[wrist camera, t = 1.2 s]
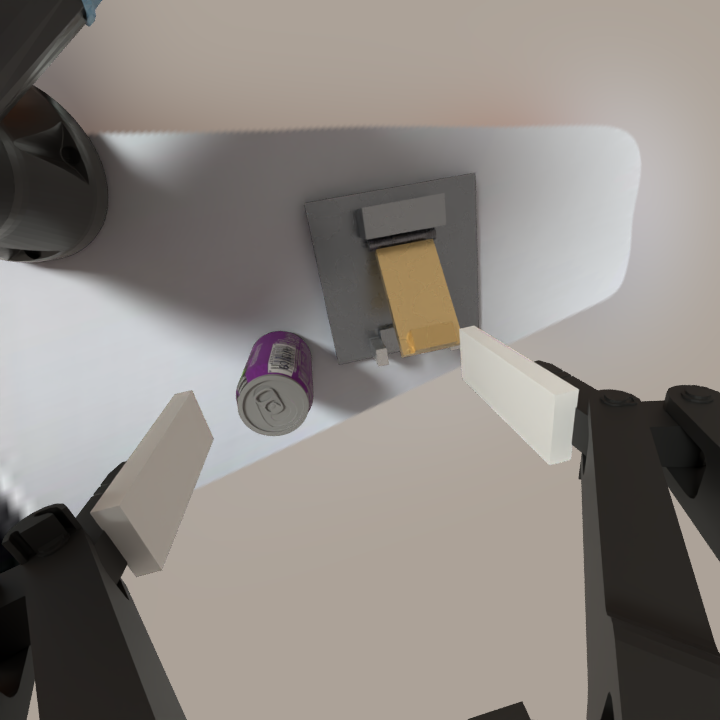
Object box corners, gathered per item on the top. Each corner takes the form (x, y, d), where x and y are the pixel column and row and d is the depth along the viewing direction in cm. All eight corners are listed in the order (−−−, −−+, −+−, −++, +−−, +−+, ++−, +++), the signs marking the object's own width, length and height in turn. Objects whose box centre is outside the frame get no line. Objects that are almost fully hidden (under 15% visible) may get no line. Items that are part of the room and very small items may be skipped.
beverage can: (238, 350, 39) (213, 399, 28) (288, 317, 39) (282, 355, 28) (275, 393, 42) (265, 453, 31) (322, 363, 42) (329, 414, 31)
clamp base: (337, 360, 42) (342, 378, 37) (304, 203, 34) (304, 200, 29) (473, 330, 43) (495, 344, 38) (468, 174, 36) (495, 166, 31)
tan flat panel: (396, 359, 32) (400, 353, 30) (367, 244, 35) (368, 231, 32) (465, 344, 33) (473, 337, 30) (431, 231, 35) (436, 218, 33)
